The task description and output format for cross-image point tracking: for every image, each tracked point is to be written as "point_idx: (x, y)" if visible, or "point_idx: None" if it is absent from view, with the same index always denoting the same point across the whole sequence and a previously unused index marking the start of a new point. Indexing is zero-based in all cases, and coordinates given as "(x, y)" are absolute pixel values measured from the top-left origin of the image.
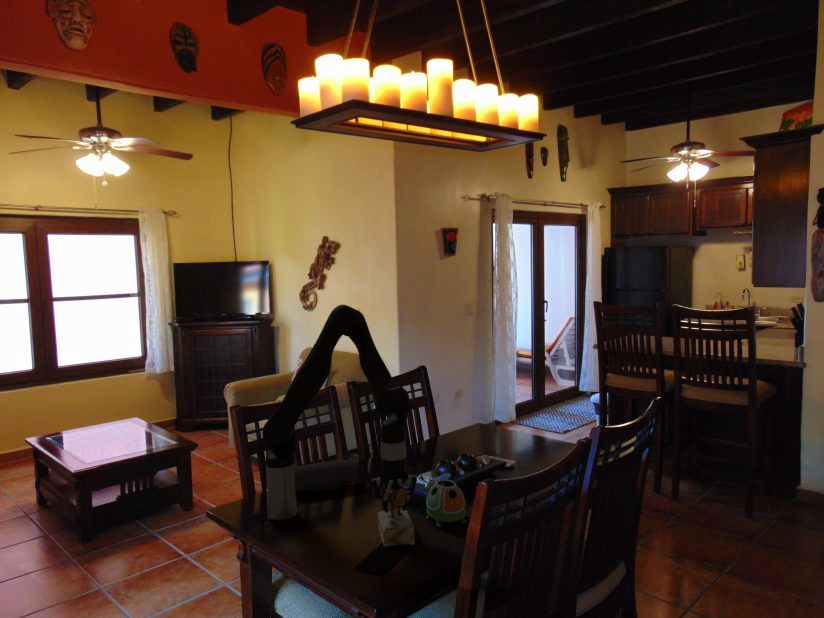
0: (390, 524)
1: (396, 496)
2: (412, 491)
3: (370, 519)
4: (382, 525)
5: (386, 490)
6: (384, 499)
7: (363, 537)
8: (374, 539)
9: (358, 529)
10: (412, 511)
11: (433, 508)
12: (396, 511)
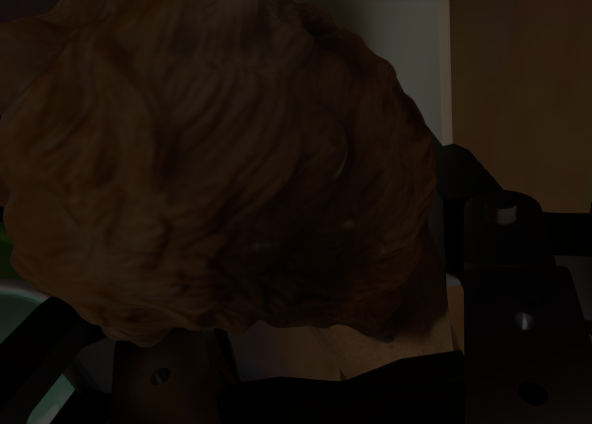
0: (364, 5)
1: (287, 21)
2: (14, 351)
3: (456, 294)
4: (440, 31)
5: (566, 310)
6: (512, 197)
7: (533, 85)
8: (461, 53)
9: (544, 191)
10: (237, 360)
11: (30, 297)
12: None
